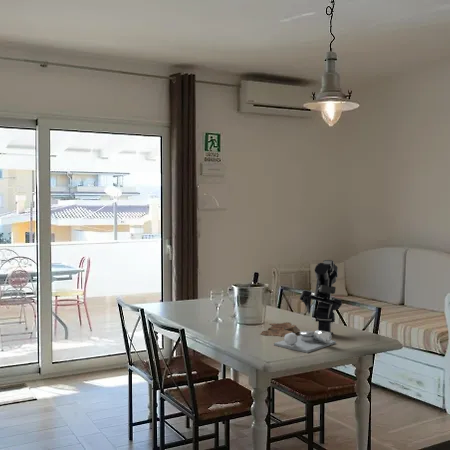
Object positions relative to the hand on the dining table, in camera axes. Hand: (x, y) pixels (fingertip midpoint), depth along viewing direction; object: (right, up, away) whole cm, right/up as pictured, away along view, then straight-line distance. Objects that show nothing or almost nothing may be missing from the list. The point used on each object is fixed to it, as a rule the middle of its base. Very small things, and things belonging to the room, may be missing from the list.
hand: (319, 315), depth 252 cm
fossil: (-16, -13, +24) cm, 32 cm away
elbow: (-2, -12, +2) cm, 12 cm away
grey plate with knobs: (-6, -13, +1) cm, 15 cm away
